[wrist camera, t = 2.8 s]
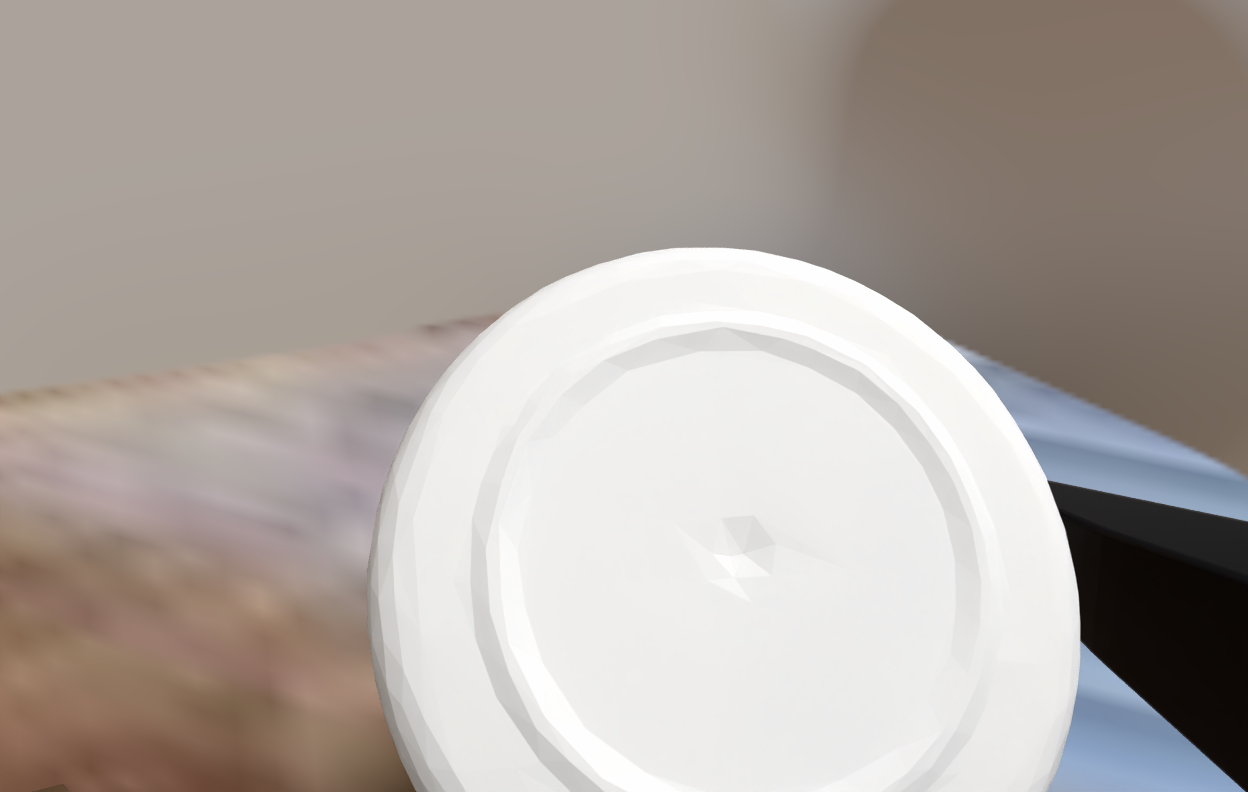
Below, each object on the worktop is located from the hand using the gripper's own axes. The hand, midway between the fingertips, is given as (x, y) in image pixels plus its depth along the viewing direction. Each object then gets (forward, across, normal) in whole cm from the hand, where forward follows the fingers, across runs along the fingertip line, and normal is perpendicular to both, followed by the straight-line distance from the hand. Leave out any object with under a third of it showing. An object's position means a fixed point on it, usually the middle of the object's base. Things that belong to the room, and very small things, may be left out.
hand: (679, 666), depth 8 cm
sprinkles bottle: (+7, 0, +6) cm, 9 cm away
